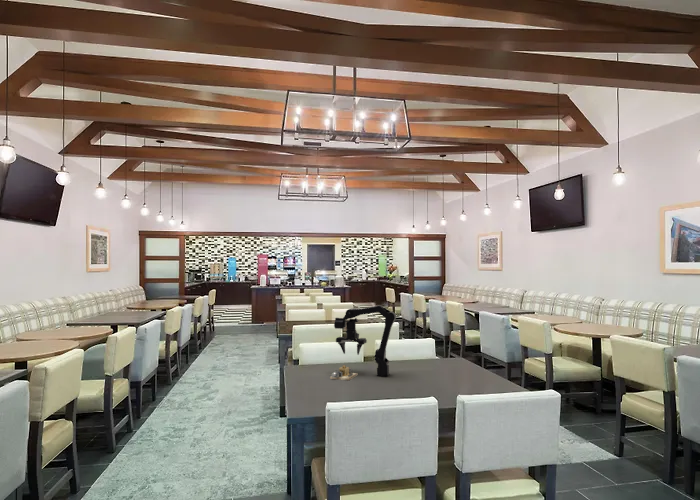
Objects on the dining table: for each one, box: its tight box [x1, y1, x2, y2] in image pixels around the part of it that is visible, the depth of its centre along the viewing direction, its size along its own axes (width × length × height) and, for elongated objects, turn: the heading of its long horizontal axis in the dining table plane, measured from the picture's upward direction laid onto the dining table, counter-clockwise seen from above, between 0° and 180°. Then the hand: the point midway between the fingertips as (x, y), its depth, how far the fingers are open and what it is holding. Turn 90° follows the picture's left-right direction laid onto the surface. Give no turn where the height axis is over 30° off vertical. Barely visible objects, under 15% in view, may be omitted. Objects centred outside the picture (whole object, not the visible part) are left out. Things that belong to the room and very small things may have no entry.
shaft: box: [330, 369, 342, 378], centre depth 255 cm, size 6×5×3 cm
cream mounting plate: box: [329, 366, 358, 381], centre depth 260 cm, size 12×16×4 cm
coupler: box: [338, 364, 350, 376], centre depth 259 cm, size 4×4×6 cm
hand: (351, 354), depth 267 cm, fingers open, 9 cm apart
